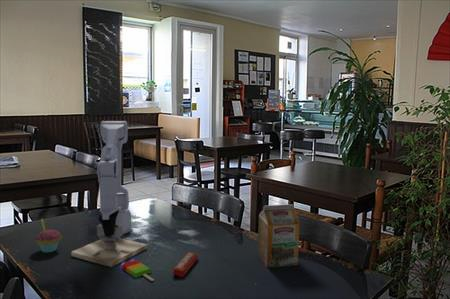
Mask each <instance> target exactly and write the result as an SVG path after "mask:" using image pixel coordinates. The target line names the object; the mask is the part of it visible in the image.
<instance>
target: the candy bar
mask: <svg viewBox="0 0 450 299" xmlns="http://www.w3.org/2000/svg"><path fill="white" fill-rule="evenodd" d="M197 260H198V254H197V253H195V252H191V251H188V252H187V253H186V254H185V256H183V258H182V259H181V260H180V261H179V262H178V263H177V265H176V266H175V267H174V269H173V271H172V273H173V275H175V276H177V277H179V278H183V277H184V276H185V275H186V274H187V272H188V271H190V268H192V267H193V265H194V264H195V263H196V261H197Z"/></svg>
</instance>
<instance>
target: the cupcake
mask: <svg viewBox="0 0 450 299" xmlns="http://www.w3.org/2000/svg"><path fill="white" fill-rule="evenodd" d="M40 221H41V225H42V231H41V232H38V233H37V234H36V236H35V238H34V240H35V243H37V244H38V246H39V248H40V251H41V252H42V253H52V252H53V253H54V252H55V251H56V250H57V248H58V244H59V242H60V241H61V240H62V238H63V236H62V233H61V232H60V231H59V230H56V229H48V228H47V229H46V226H45V221H44V219H43V218H42V217H41V219H40Z"/></svg>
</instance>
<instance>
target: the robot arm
mask: <svg viewBox="0 0 450 299" xmlns="http://www.w3.org/2000/svg"><path fill="white" fill-rule="evenodd" d="M99 129H100V131H99V132H100V136H101V139H102V141H103V143H105V146H103V147H102V149H101V154H100V160H99V162H97V165H96V169H97V170H96V172H97V173H96V174H97V177H98V179H97V181H98V184H99V212H100V213H101V215H99V217H98V221H99V222H100V224H101V225H102V227H103V230H104V234H105V237H111V236H112V232H113V225H122V236H123V235H125V234H127V233H129V232H131V231H133V230H134V228H132V213H131V211H130V210H129V207H130V206H129V204H130V202H129V201H130V197H129V190H128V188H126V187H125V186H123V185H122V149H123V144H126V143H127V142H128V133H129V132H128V131H129V128H128V121H127V120H105V121H104V120H102V121H100V128H99Z"/></svg>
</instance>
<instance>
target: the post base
mask: <svg viewBox="0 0 450 299" xmlns="http://www.w3.org/2000/svg"><path fill="white" fill-rule="evenodd" d="M147 249H148V243H147V244H146V243H144V242H143V243H142V242H138V241H133V240H130V239H126V238H122V237H121V240H119V241H118V240H117V241H113V242H103V241H101V238H99V239H98V240H96V241H94V242H91V243H88V244H86V245H85V246H81V247H79V248H77V249H74V250H72V251H71V257H74V258H78V259H82V260H85V261H88V262H92V263H96V264H98V265H102V266H106V267H109V268H113V267H114V266H116V265H118V264H120V263H122V262H125V261H126V260H128V259H131V258H132V257H134V256H136V255H137V254H139V253H141V252H143V251H145V250H147Z"/></svg>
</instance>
